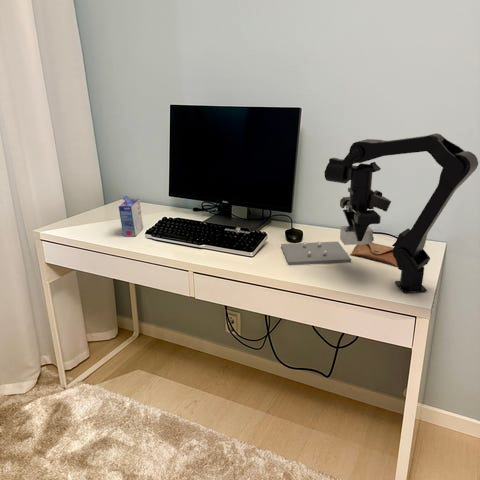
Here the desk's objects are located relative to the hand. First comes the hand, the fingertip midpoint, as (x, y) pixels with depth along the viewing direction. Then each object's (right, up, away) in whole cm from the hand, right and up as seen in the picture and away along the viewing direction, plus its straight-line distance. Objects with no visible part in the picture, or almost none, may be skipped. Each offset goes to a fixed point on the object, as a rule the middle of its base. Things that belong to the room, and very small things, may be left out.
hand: (356, 238), depth 128 cm
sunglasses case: (+11, -7, +14) cm, 19 cm away
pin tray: (-9, -5, +17) cm, 20 cm away
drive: (0, -1, 0) cm, 1 cm away
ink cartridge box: (-76, +2, +43) cm, 87 cm away
